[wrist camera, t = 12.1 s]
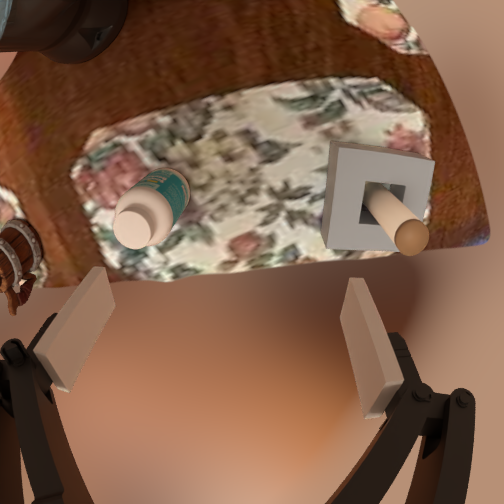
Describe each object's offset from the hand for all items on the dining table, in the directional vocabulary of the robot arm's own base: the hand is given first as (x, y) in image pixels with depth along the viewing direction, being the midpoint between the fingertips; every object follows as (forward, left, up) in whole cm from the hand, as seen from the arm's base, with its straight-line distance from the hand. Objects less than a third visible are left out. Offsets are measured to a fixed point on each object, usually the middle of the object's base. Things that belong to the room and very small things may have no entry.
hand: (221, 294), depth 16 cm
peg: (+3, +18, -29) cm, 34 cm away
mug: (+15, -45, -29) cm, 56 cm away
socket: (+3, +18, -29) cm, 34 cm away
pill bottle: (+4, -12, -29) cm, 32 cm away
